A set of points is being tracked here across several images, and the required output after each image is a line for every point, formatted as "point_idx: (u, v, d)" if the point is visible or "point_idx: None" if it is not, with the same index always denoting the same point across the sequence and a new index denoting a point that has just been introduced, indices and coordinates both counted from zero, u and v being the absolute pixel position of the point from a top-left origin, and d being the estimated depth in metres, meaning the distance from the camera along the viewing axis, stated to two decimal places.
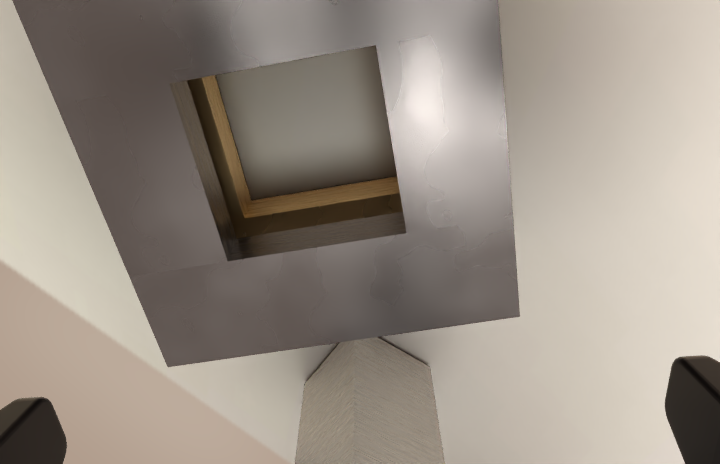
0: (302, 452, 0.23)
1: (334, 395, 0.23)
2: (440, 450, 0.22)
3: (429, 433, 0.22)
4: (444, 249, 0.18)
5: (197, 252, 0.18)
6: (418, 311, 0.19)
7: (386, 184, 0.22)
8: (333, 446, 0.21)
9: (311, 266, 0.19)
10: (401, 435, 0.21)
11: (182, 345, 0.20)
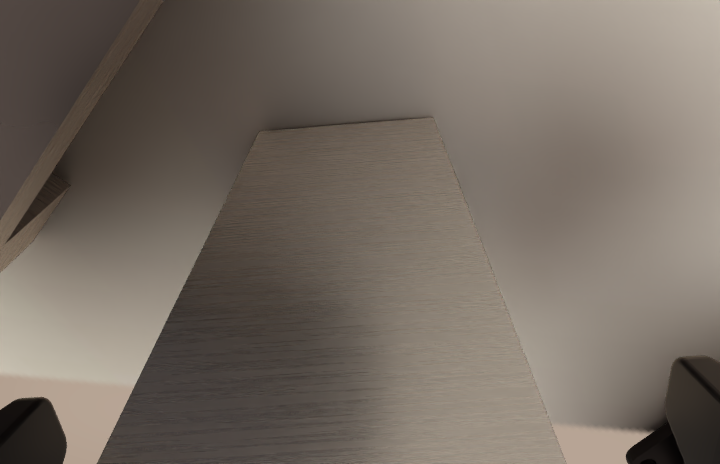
0: None
1: None
2: (457, 204, 0.09)
3: (425, 191, 0.10)
4: None
5: None
6: None
7: None
8: None
9: None
10: (343, 219, 0.09)
11: None
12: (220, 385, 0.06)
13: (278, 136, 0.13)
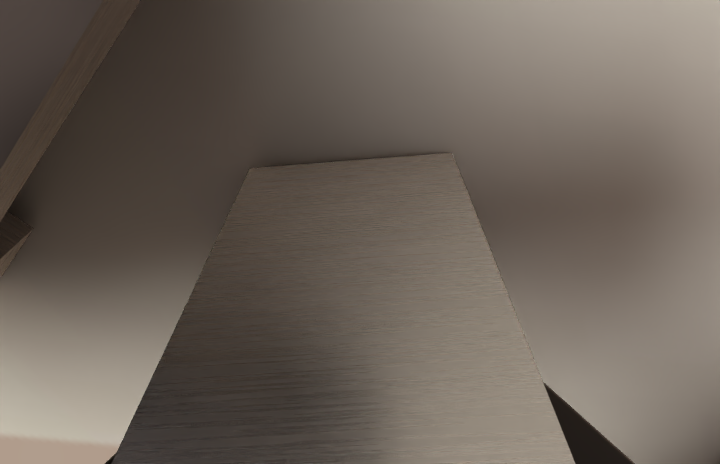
0: None
1: None
2: (490, 280, 0.07)
3: (450, 259, 0.08)
4: None
5: None
6: None
7: None
8: None
9: None
10: (347, 300, 0.07)
11: None
12: None
13: (271, 175, 0.11)
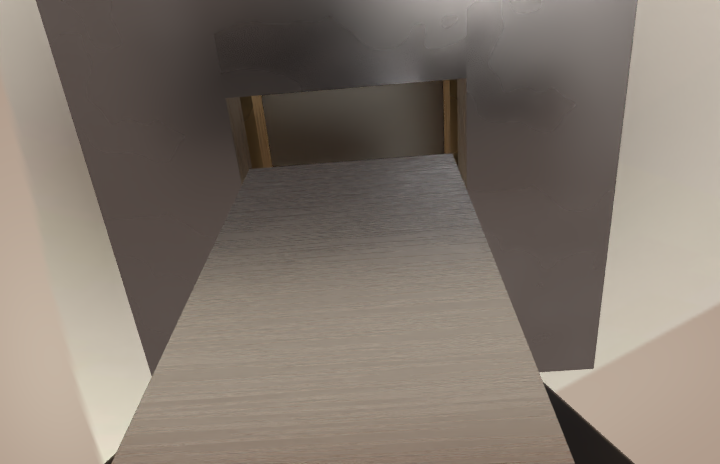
0: None
1: None
2: (490, 281, 0.07)
3: (449, 261, 0.08)
4: (501, 26, 0.13)
5: None
6: (595, 68, 0.14)
7: None
8: None
9: (492, 198, 0.15)
10: (346, 302, 0.07)
11: (568, 348, 0.17)
12: None
13: (271, 176, 0.11)
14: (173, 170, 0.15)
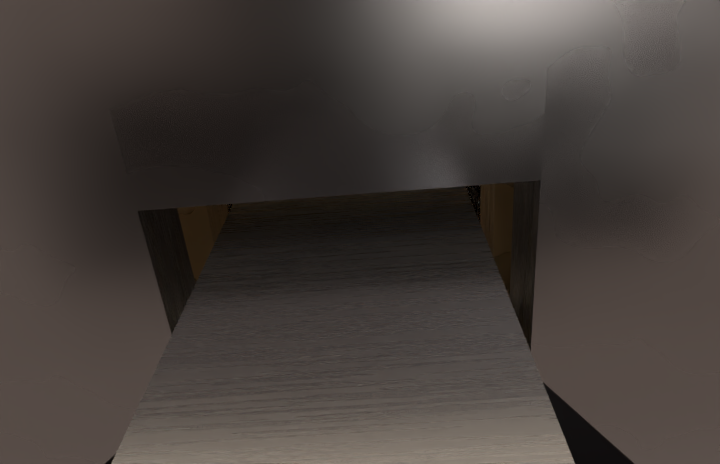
0: None
1: None
2: (491, 281, 0.07)
3: (450, 260, 0.08)
4: (605, 98, 0.08)
5: None
6: None
7: None
8: None
9: (571, 356, 0.10)
10: (347, 301, 0.07)
11: None
12: None
13: None
14: (61, 316, 0.09)
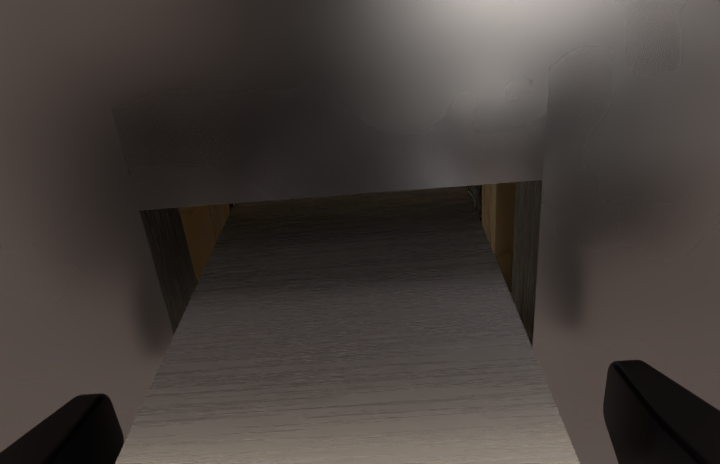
0: None
1: None
2: (478, 242, 0.08)
3: (441, 225, 0.09)
4: (607, 98, 0.08)
5: None
6: None
7: None
8: None
9: (572, 356, 0.10)
10: (350, 260, 0.08)
11: None
12: None
13: None
14: (63, 316, 0.09)
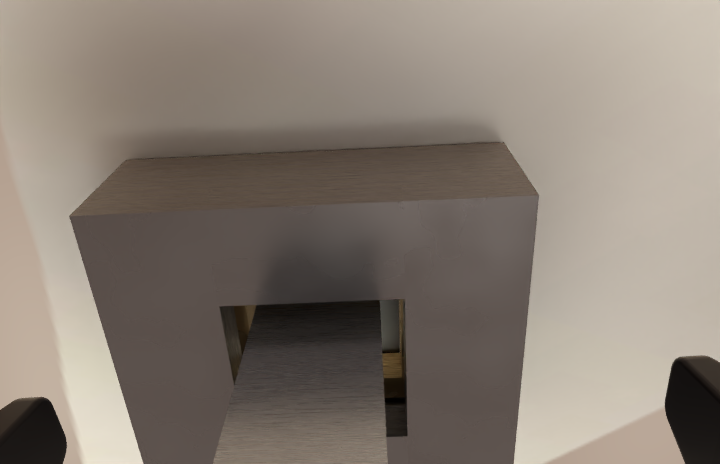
0: None
1: None
2: (375, 325, 0.18)
3: (361, 314, 0.19)
4: (430, 267, 0.17)
5: (394, 454, 0.21)
6: (503, 295, 0.18)
7: None
8: None
9: (426, 378, 0.19)
10: (316, 333, 0.18)
11: None
12: (259, 424, 0.15)
13: None
14: (176, 352, 0.19)
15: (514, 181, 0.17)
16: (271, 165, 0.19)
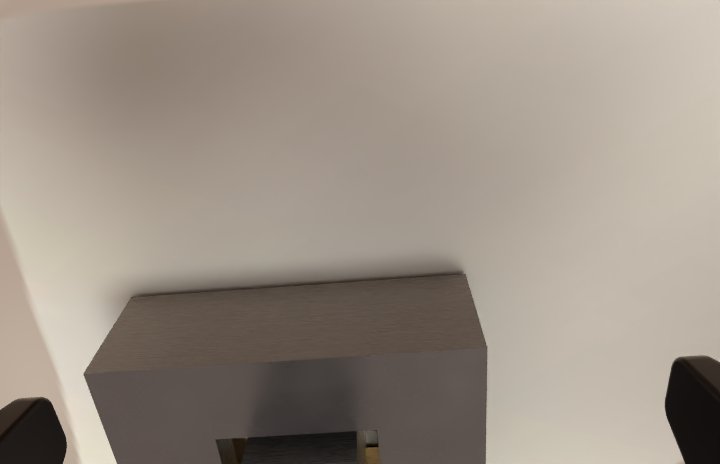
0: None
1: None
2: (352, 452, 0.21)
3: (340, 440, 0.21)
4: (397, 405, 0.20)
5: None
6: (462, 424, 0.20)
7: None
8: None
9: None
10: (300, 461, 0.20)
11: None
12: None
13: None
14: None
15: (468, 328, 0.20)
16: (258, 305, 0.22)
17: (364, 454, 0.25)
